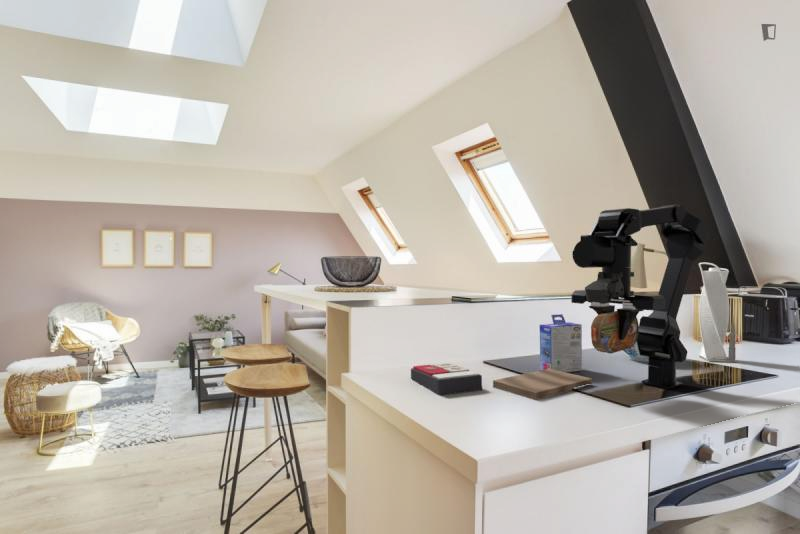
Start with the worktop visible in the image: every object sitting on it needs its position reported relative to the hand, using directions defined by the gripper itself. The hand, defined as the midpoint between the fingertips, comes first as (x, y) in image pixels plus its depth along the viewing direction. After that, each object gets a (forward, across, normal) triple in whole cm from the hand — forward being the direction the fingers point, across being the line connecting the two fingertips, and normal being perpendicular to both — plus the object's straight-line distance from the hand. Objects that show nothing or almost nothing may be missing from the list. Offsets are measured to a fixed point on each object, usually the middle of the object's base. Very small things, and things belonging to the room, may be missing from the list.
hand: (615, 339), depth 106 cm
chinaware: (+12, -15, +39) cm, 44 cm away
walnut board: (+12, -13, -8) cm, 19 cm away
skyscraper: (+12, -3, +56) cm, 58 cm away
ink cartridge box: (+12, -20, +8) cm, 25 cm away
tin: (+3, 0, 0) cm, 3 cm away
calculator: (+12, -27, -25) cm, 39 cm away
